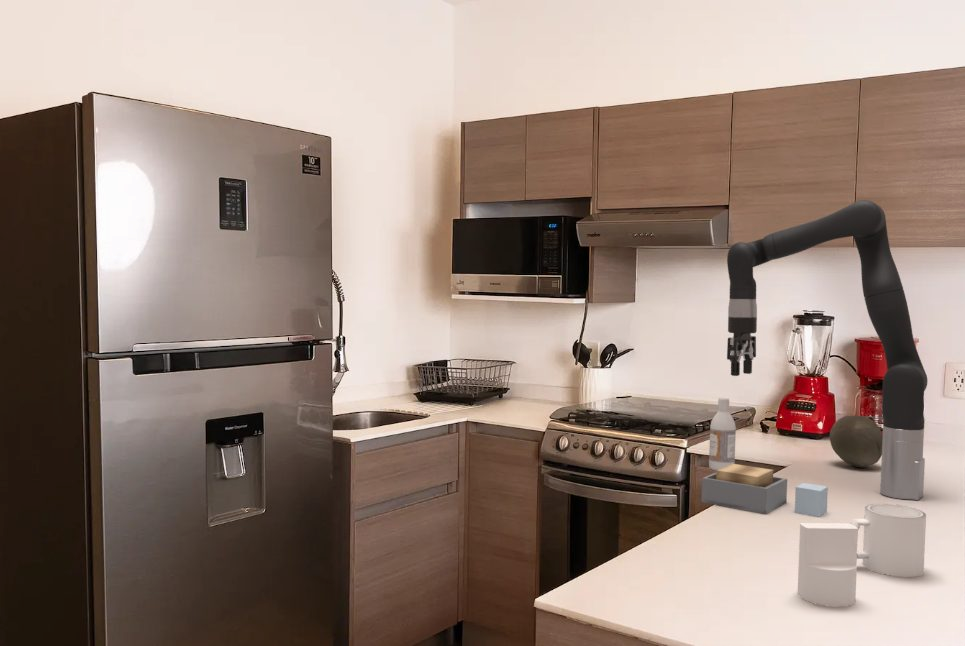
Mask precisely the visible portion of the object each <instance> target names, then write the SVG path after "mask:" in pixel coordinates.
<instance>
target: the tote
mask: <svg viewBox="0 0 965 646" xmlns="http://www.w3.org/2000/svg"><path fill="white" fill-rule="evenodd" d="M716 473H717V471H716V472H713V473H710V474H708V475H707V476H704V477H702V478H701V496H700V497H701V498H700V499H701V501H700V502H701V503H704V504H710V505H716V506H720V507H726V508H732V509H737V510H742V511H747V512H751V513H758V514H764V515H767V514H769V513H770V512H772V511H774V510H776V509H778V508H779V507H782V506H783V505H785V504H787V502H788V501H787V497H788V496H787V495H788V478H787V477H786V478H785V477H777V476H773V484H771V485H769V486H767V487H765V488H764V487H758V486H752V485H746V484H740V483H734V482H728V481H722V480H716Z"/></svg>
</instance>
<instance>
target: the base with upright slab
mask: <svg viewBox="0 0 965 646" xmlns="http://www.w3.org/2000/svg"><path fill="white" fill-rule="evenodd" d="M858 537H859V530H858V528H857V527H856V526H854V525H852V524H851V523H841V522H840V523H838V522H837V523H835V522H833V523H831V522H829V523H828V522H825V523H823V522H822V523H821V522H817V523H816V522H800V523H799V545H798V546H799V547H798V549H799V551H798V566H797V567H798V569H797V570H798V573H797V595H798V596H800V597H799V598H801V597H802V598H803V599H802V598H801V599H802V600H804V599H805V601H806V600H807V602H808V601H810V602H809V603H811V602H813V604H814V603H816V604H815V605H818V604H821V605H820V606H823V605H828V606H827V607H830V606H846V607H848V606H847V605H851V604H853V605H854V604H855V603H856V594H857V593H856V592H857V569H858V565H857V563H858V562H857V561H858V559H857V552H858V539H859V538H858ZM851 606H852V605H851Z"/></svg>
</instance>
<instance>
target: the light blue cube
mask: <svg viewBox="0 0 965 646" xmlns="http://www.w3.org/2000/svg"><path fill="white" fill-rule="evenodd" d="M828 489H829V486H826V485H820V484H814V483H813V484H812V483H806V482H802V483H800V484H799V485H797V486H795V492H794V493H795V498H794V513H795V514H799V515H800V514H801V515H805V514H806V516H811V515H812V517H816V516H819V517H818V518H820V517H822V516H823V515H825V514H826V513H828V491H829V490H828ZM824 513H825V514H824ZM813 515H814V516H813ZM821 515H822V516H821Z"/></svg>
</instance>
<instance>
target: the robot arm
mask: <svg viewBox="0 0 965 646" xmlns="http://www.w3.org/2000/svg"><path fill="white" fill-rule="evenodd" d="M886 219H887V218H886V214H885V212H884V210H883V209H882V207H881V206H880V205H879V204H877V203H875V202H874V201H871V200H868V199H867V200H866V199H865V200H863V199H862V200H857V201H855V202H853V203H851V204H849V205H848V206H845V207H843V208H841V209H839V210H838V211H835V212H833V213H830V214H828V215H825V216H823V217H821V218H818V219H815V220H813V221H809V222H805V223H802V224H799V225H796V226H792V227H789V228H784V229H781V230H779V231H775V232H773V233H770V234H767V235H765V236H764V237H763V238H759V239H757V240H754V241H750V242H735V243H734V244H732V245H731V246H730V247H729V249H728V252H727V255H726V256H727V257H726V259H727V262H726V263H727V273H728V278H729V302H728V307H727V308H728V309H727V311H728V312H727V317H728V318H727V319H728V320H727V332H728V333H730V334H733V336H732V337H728V338H727V346H726V347H727V349H726V352H727V353H726V360H729V362H730V375H731V376H734V377H739V376H740V373H741V366H740V365H741V363H740V361H741V358H742V357H743V358H742V359H743V360H742V361H743V362H742V363H743V365H742V366H743V369H742V373H743V374H746V375H748V374H749V375H751V374H752V373H753V360H754V358H756V357H757V337H756V335H752V334H756V333H757V326H758V324H757V323H758V321H757V320H758V304H757V282H756V279H755V278H754V268H755V267H759V266H761V265H763V264H766V263H769V262H770V261H773V260H777V259H778V260H779V259H782V258H786V257H789V256H793V255H795V254H799V253H801V252H804V251H806V250H808V249H811V248H814V247H816V246H818V245H822V244H823V243H827V242H829V241H830V242H831V241H832V240H837V239H843V238H849V237H850V238H851V237H853V240H854V243H855V246H856V248H857V252H858V255H859V260H860V266H861V267H860V268H861V269H860V271H861V286H862V292H863V298H864V303H865V306H866V310H867V314H868V316H869V320H870V321H871V324H872V326H873V328H874V330H875V332H876V334H877V336H878V338H879V340H880V343H881V346H882V348H883V352H884V356H885V362H886V368H887V369H886V372H885V374H884V376H883V380H882V395H881V396H882V399H881V402H882V403H881V413H882V435H883V439H882V456H881V461H880V462H881V463H880V464H881V467H880V470H881V471H880V484H879V485H880V490H879V492H880V494H881V495H883V496H885V497H889V498H895V499H900V500H915V501H919V500H920V499H921V498H922V497H924V490H925V488H924V485H925V482H924V481H925V463H926V460H925V458H924V438H925V415H924V414H925V413H924V412H925V411H924V406H925V405H924V403H925V391H926V389H927V387H928V377H927V373H926V370H925V367H924V365H923V363H922V360H921V358H920V355H919V352H918V350H917V349H918V348H917V347H916V344H915V340H914V335H913V334H914V333H913V328H912V322H911V318H910V317H911V316H910V312H909V307H908V301H907V298H906V294H905V290H904V286H903V284H902V280H901V277H900V274H899V271H898V268H897V266H896V263H895V261H894V258H893V255H892V252H891V248H890V242H889V235H888V228H887V221H886Z"/></svg>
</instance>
